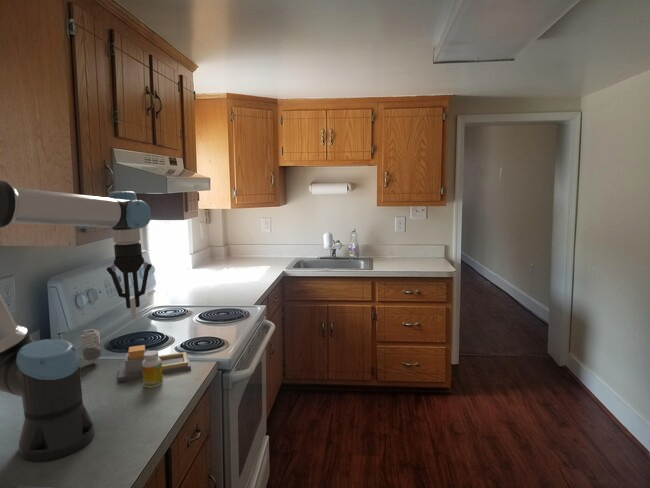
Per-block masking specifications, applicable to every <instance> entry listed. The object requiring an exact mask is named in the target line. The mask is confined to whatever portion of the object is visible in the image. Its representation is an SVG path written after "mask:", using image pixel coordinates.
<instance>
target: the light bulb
mask: <svg viewBox="0 0 650 488" xmlns="http://www.w3.org/2000/svg"><path fill="white" fill-rule="evenodd" d="M100 338H101V336H100V331H98V330H97V329H94V328H89V329H86V330H85V329H84V330H83V331H82V334H81V335H80V341H81V343H80V344H82V348H84V349H83V350H82V356H83V359H84V360H85V361H88V363H89V364H90V365H94V364H96V363H97V361H98V358H100V357H101V356H102V352H101V351H102V349H101V347H100V344H101V339H100Z"/></svg>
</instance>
